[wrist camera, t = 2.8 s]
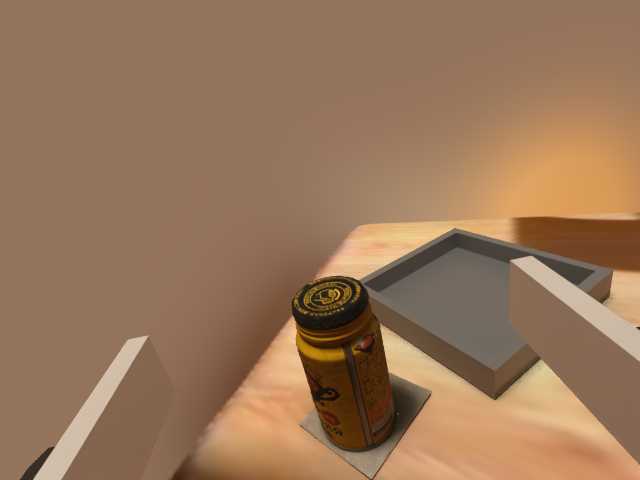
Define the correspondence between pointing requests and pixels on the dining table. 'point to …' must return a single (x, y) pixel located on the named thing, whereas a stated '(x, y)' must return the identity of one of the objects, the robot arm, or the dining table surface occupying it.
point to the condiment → (351, 374)
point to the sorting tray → (468, 303)
